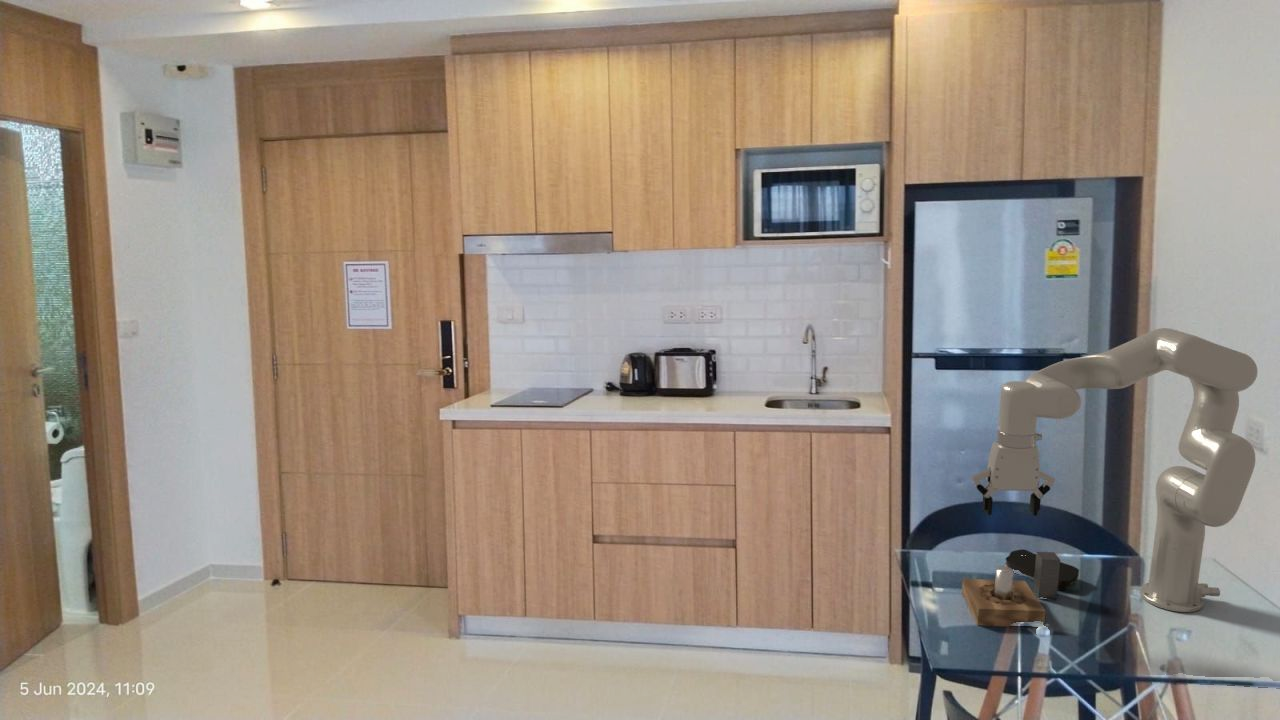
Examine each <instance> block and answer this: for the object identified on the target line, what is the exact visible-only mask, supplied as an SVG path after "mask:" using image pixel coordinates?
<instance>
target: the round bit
mask: <svg viewBox="0 0 1280 720" xmlns="http://www.w3.org/2000/svg"><path fill="white" fill-rule="evenodd" d="M1014 574H1015V573H1014V571H1013V569H1011V568H1009V567H1005V565H1004V566H1001V565H1000V566H997V567H996V570H995V579H994V580H995V591H994V597H995V598H998V599H1000V600H1011V596H1012V584H1013V580H1014Z"/></svg>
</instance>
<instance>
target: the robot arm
mask: <svg viewBox="0 0 1280 720" xmlns="http://www.w3.org/2000/svg"><path fill="white" fill-rule="evenodd" d="M1257 366H1258V365H1257V364H1256V362H1255V360H1254V359H1253V358H1252V356H1250V355H1248V354H1246V353H1243V352H1242V351H1238V350H1234V349H1232V348H1229V347H1226V346H1224V345H1223V346H1222V345H1220V344H1218V343H1214V342H1211V341H1209V340H1207V339H1205V338H1202V337H1199V336H1196V335H1193V334H1190V333H1186V332H1184V331H1180V330H1177V329H1173V328H1167V327H1161V328H1156V329H1154V330H1151V331H1148V332H1147V333H1144V334H1142V335H1140V336H1138V337H1135V338H1134V339H1131V340H1128V341H1127V342H1125V343H1123V344H1120V345H1118V346H1115V347H1113V348H1111V349H1109V350H1107V351H1104V352H1100V353H1095V354H1089V355H1088V354H1087V355H1085V356H1080V357H1079V356H1078V357H1074V358H1070V359H1066V360H1062V361H1058V362H1056V363H1053V364H1050V365H1048V366H1047V367H1044V368H1042V369H1040V370H1038V371H1036V372H1034V373H1032V374H1030V375H1029V376H1027V378H1026V379H1025V380H1024V381H1021V380H1019V381H1018V380H1013V381H1008V382H1006V383H1004V384H1003V385H1001V388H1000V394H999V395H1000V396H999V397H1000V398H999V410H998V411H999V412H998V424H997V437H996V438H997V439H996V440H997V441H993V442H992V444H991V449H990V452H989V456H988V462H987V468H986V469H983V470H982V471H979V472H978V473H976V474H973V475H972V476H971V480H972V482H973V483H974V486H975V488H976V489H977V490H978V491H979V492H980V493H981V495H982V504H981V505H982V506H981V507H982V510H984V512H985V513H986V514H987V516H990V515H992V514H993V497H992V495H993V494H995V492H997V491H1016V492H1017V491H1019V492H1020V491H1021V492H1022V491H1024V492H1025V491H1028V492H1029V491H1032V493H1030V497H1029V499H1030V500H1029V512H1030V513H1031V514H1032V515H1033V516H1034V517H1035V516H1036V517H1037V516H1038V513H1039V511H1041V499H1043V498H1044V496H1045V495H1046V494H1047V493H1048V492H1049V491H1050V490H1051V487H1053V486H1054V483H1055V482H1056V478H1054V476H1053V475H1052V474H1051V475H1050V474H1049V473H1046V472H1044V471H1043V470H1041V469H1040V467H1041V466H1040V456H1039V455H1040V454H1039V448H1038V445H1037V442H1038V441H1042V439H1043V434H1042V433H1038V432H1037V420H1038V418H1043V419H1044V418H1045V419H1053V420H1062V419H1063V420H1064V419H1067V418H1071V417H1073V416H1074V415H1075V414H1076V413H1078V411H1079V410H1080V408H1081V403H1082V398H1081V396H1080V394H1079V392H1077V390H1082V389H1099V390H1100V389H1102V390H1118V389H1125V388H1128V387H1130V386H1131V385H1133V384H1136V383H1138V382H1140V381H1142V380H1145V379H1147V378H1149V377H1152V376H1154V375H1156V374H1158V373H1160V372H1164V371H1169V372H1172V373H1175V374H1177V375H1181V376H1183V377H1186V378H1188V379H1189V381H1190V383H1191V386H1192V390H1193V399H1192V400H1193V401H1192V404H1191V408H1190V411H1189V414H1188V417H1187V419H1186V421H1185V425H1184V427H1183V430H1182V433H1181V435H1180V439H1179V442H1178V452H1179V454H1180V456H1181V457H1182V458H1183V459H1184V460H1186V461H1188V462H1190V463H1191V464H1192V465H1195V466H1197V467H1199V468H1201V469H1203V470H1204V471H1206V472H1205V474H1204V473H1201V472H1200V471H1197V470H1195V469H1193V468H1191V467H1188V466H1182V465H1177V466H1176V465H1175V466H1170V467H1168V468H1166V469H1164V470H1163V471H1162V472H1161V473H1160V474H1159V476H1158V478H1157V481H1156V483H1155V484H1156V485H1155V497H1156V498H1155V499H1156V523H1155V524H1156V525H1155V533H1154V539H1153V540H1154V541H1153V546H1152V547H1153V548H1152V555H1151V563H1150V570H1149V571H1150V572H1149V576H1148V577H1149V579H1148V583H1143V584H1142V585H1141V587H1140V589H1139V595H1140V597H1142V599H1143V600H1145V601H1146V602H1147V603H1150V604H1151V605H1153V606H1155V607H1158V608H1161V609H1162V610H1163V609H1164V610H1165V611H1166V610H1168V611H1173V612H1177V613H1178V612H1179V613H1193V612H1198V611H1200V610H1201V609H1202V608H1203V607H1204V603H1205V602H1204V599H1203V598H1205V597H1206V596H1210V597H1219V596H1221V591H1220V590H1221V589H1220V588H1219V587H1216V586H1215V587H1209V584H1208V583H1207V582H1206V583H1203V582H1202V583H1199V578H1200V571H1201V564H1202V557H1203V551H1204V542H1205V537H1206V526H1208V527H1212V528H1217V527H1222V526H1225V525H1226V524H1227V525H1228V523H1229V522H1230V521H1232V519H1234V517H1235V515H1236V514H1237V512H1238V511H1239V509H1240V507H1241V503H1242V501H1243V499H1244V495H1245V493H1246V491H1247V490H1248V489H1247V488H1248V486H1249V483H1250V480H1251V478H1252V476H1253V475H1252V474H1253V472H1254V469H1255V466H1256V452H1255V450H1254V446H1253V445H1252V444H1251V443H1250V442H1249V440H1247V439H1246V438H1244V437H1242V436H1241V435H1238V434H1235V432H1234V433H1233V429H1234V425H1235V422H1236V418H1237V415H1238V411H1239V406H1240V397H1239V396H1240V395H1239V392H1243V391H1246V390H1247V389H1248V388H1250V387H1251V386H1252V385H1253V384H1254V383H1255V382H1256V379H1257V377H1258V367H1257ZM1040 478H1041V479H1043V480H1045V481H1044V483H1043V484H1041V485H1040ZM985 479H986V482H987V483H986V485H985V486H984V485H983V484H982V483H981V481H982V480H985Z"/></svg>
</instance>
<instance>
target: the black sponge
mask: <svg viewBox="0 0 1280 720" xmlns="http://www.w3.org/2000/svg"><path fill="white" fill-rule="evenodd" d="M1021 555H1023V556H1021ZM1025 555H1026V556H1025ZM1035 562H1036V553H1034V552H1032V551H1029V550H1026V549H1024V548H1023V549H1017V550H1016V549H1015V550H1013V551H1011V552H1009V554H1008V556H1006V557H1005V565H1004V567H1005V566H1006V567H1009V568H1011V569H1014V570H1019V571H1020V572H1021V573H1022V574H1025V575H1027V576H1030V577H1032V578H1033V579H1034V572H1035ZM1079 574H1080V570H1079V569H1078V568H1077V567H1076V566H1074V565H1071V564H1069V563H1064V562H1061V561H1060V569H1059V579H1058V588H1057V591H1065V590H1067V588H1069V587H1070V585H1071V584H1073V583H1075V582H1077V581H1078V578H1079Z"/></svg>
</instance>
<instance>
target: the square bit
mask: <svg viewBox="0 0 1280 720" xmlns="http://www.w3.org/2000/svg"><path fill="white" fill-rule="evenodd" d="M1035 554H1036V562H1035V572H1034V580H1033V585H1032V590H1033V589H1034V591H1035V593H1036V594H1037V596H1038V598H1040V597H1043V598H1047V599H1050V600H1049V601H1052V600H1051V599H1056V600H1057V597H1058V590H1057V588H1058V579H1059V569H1060V562H1061V559H1060V558H1059V557H1058V555H1057V554H1056V552H1055V551H1054V552H1052V551H1036V553H1035ZM1037 596H1036V597H1037ZM1038 598H1037V599H1038Z"/></svg>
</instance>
